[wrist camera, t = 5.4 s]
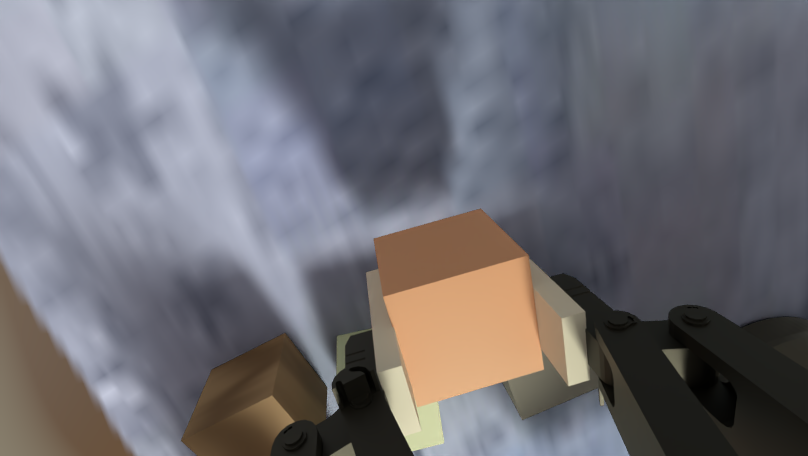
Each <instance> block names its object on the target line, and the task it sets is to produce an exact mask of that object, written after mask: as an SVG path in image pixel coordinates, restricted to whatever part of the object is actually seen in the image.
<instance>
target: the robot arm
mask: <svg viewBox="0 0 808 456" xmlns="http://www.w3.org/2000/svg"><path fill="white" fill-rule="evenodd" d="M529 262H530V269H531V277H532V284H533V291H534V299H535V307H536V315H537V323H538V331H539V338H540V346H541V350H542V351H543V352H544V354H545V355H546V356H547V358H548V359H549V360H550V362H551V363H552V365H553V366H554V367H555V369H556V370H557V371H558V373H559V374H560V375H561V377H562V378H563V379H564V381H565V382H566V384H567V385H568V386H571V385H575V384H578V383H581V382H585V381H588V380H590V368H589V366H590V367H591V368H592V370H593V371H594V372H595V373H596V374H597V375H598V387H599V401H600V406H604V400H605V402H606V404H607V406H608V409H609V411H610V413H611V415H612V417H613V420H614V422H615V424H616V426H617V429H618V431H619V433H620V435H621V437H622V440H623V442H624V444H625V446H626V448H627V451H628V453H629V455H630V456H808V320H806V319H802V318H797V317H777V318H771V319H766V320H762V321H758V322H755V323H752V324H750V325H747V326H745V327H742V328H741V327H739V326H737V325H736V324H734V323H733V322H731V321H729V320H728V319H726V318H725V317H723V316H722V315H720V314H718V313H717V312H715V311H713V310H711V309H708V308H705V307H701V306H697V305H682V306H677V307H675V308H673V309H671V311H670V312H669V317H668V320H663V321H640V320H639V319H638V318H637V317H636V316H635V315H632V314H630V313H628V312H624V311H619V310H618V311H613V310H612V309H611V308H610V307H609V306H608V305H606V304H605V303H604V302H603V301H602V300H601V299H599V298H598V297H597V296H596V295H595V294H593V293H592V292H590V290H589V289H588V288H586V287H585V286H583V284H582V283H580V282H579V281H578V280H577V279H576V278H574V277H571V276H569V275H566V274H564V273H562V274H559V275H555V276H552V277H549V276H548V275H546V274H545V273H544V272H543V271H542V270H541V269H540V268H539V267H538V266H537V265H536V264H535V263H534V262H533V261H532V260H531V259H530V258H529ZM366 278H367V287H368V297H369V306H370V315H371V324H372V330H369V331H365V332H362V333H358V334H355V335H352V336H350V337H349V339H348V341H347V343H346V345H345V368H344V369H343V370H341V371H340V372H339V373H338V374H337V375H336V376H335V378H334V380H333V382H332V391H333V393H334V396H335V398H336V401H337V403H338V406H339V409H338V410H337V411H336V412H335V413H334V414H333V415H332V416H330V417H329V418H327V419H326V420H324V421H322V422H321V423H319V424H317V425H315V424H314V423H313V422H312V421H308V420H300V421H296V422H294V423H291V424H289V425H288V426H286V427H285V428H284V429H283V430H281V431H280V433H279V434H278V435H277V437H276V438H275V440H274V442H273V445H272V449H271V454H270V456H414V455H413V453H412V451H411V449H410V447H409V445H408V443H407V441H406V439H405V437H404V436H407V435H410V434H413V433H417V432H420V431H422V430H421V426H420V421H419V417H418V412H417V408H416V403H415V399H414V394H413V389H412V385H411V382H410V379H409V375H408V372H407V369H406V365H405V362H404V359H403V355H402V352H401V349H400V346H399V342H398V339H397V336H396V332H395V329H394V327H392V324H391V321H390V318H389V315H388V312H387V308H386V305H385V302H384V299H383V294H382V288H381V282H380V276H379V269H376V270H372V271H369V272H366Z"/></svg>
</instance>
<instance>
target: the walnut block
mask: <svg viewBox="0 0 808 456" xmlns="http://www.w3.org/2000/svg"><path fill="white" fill-rule="evenodd" d="M326 406H327V387H326V385H325V384H324V383H323V382H322V380H321V379H320V378H319V376H318V375H317V374H316V372H315V371H314V370H313V369H312V367H311V366H310V365H309V363H308V362H307V361H306V359H305V358H304V357H303V356H302V354H301V353H300V352H299V350H298V349H297V348H296V346H295V345H294V344H293V343H292V341H291V340H290V339H289V337H288V336H287V335H286V333H284V334H282V335H280V336H278V337H276V338H274V339H272V340H270V341H268V342H266V343H264V344H262V345H260V346H258V347H256V348H254V349H252V350H250V351H248V352H246V353H244V354H242V355H240V356H238V357H236V358H234V359H232V360H230V361H228V362H226V363H224V364H222V365H220V366H218V367H216V368H214V369H212V370H211V373H210V375H209V377H208V379H207V382H206V384H205V386H204V389H203V391H202V393H201V396H200V398H199V400H198V403H197V405H196V407H195V410H194V412H193V414H192V417H191V419H190V421H189V423H188V426H187V428H186V430H185V433H184V435H183V437H182V440H181V441H182V442H183V443H184V444H185V445H186V446H187V447H188V448H190V449H191V450H192V451H193V452H194V453H195V454H196V455H197V456H270V454H271V449H272V445H273V442H274V440H275V438H276V437H277V435H278V434H279V433H280V431H281V430H283V429H284V428H285V427H286V426H288V425H289V424H291V423H294V422H296V421H300V420H308V421H312V422H313V423H314V424H315V425H317V424H319V423H321V422H322V421H324V420H326Z"/></svg>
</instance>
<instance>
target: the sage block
mask: <svg viewBox="0 0 808 456" xmlns="http://www.w3.org/2000/svg"><path fill="white" fill-rule="evenodd" d="M369 330H372V328H371V329H367V330H362V331H357V332H353V333H348V334H344V335H339V336H337V371H336V375H337V374H338V373H339V372H340V371H341V370H343V369H344V368H345V345H346V343H347V341H348V339H349V337H350V336H352V335H355V334H358V333H362V332H365V331H369ZM414 399H415V398H414ZM415 403H416V401H415ZM416 408H417V412H418V417H419V421H420V426H421V430H422V431H420V432H417V433H413V434H410V435H407V436H404V437H405V439H406V441H407V443H408V445H409V447H410V449H411V451H415V450H419V449H423V448H427V447H431V446H435V445H439V444H443V443H444V438H443V432H442V425H441V419H440V412H439V406H438V401H437V402H434V403H430V404H427V405H424V406H420V407H417V405H416Z"/></svg>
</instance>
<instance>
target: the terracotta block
mask: <svg viewBox="0 0 808 456" xmlns="http://www.w3.org/2000/svg"><path fill="white" fill-rule="evenodd" d="M374 244H375V251H376V257H377V263H378V269H379V276H380V282H381V288H382V294H383V299H384V302H385V305H386V308H387V312H388V315H389V318H390V321H391V324H392V327H394V329H395V332H396V336H397V339H398V342H399V346H400V349H401V352H402V355H403V359H404V362H405V365H406V369H407V372H408V375H409V379H410V382H411V385H412V389H413V394H414V398H415V401H416V405H417V407H420V406H424V405H427V404H430V403H434V402H437V401H440V400H444V399H447V398H450V397H454V396H457V395H461V394H464V393H467V392H471V391H474V390H477V389H481V388H484V387H487V386H491V385H494V384H497V383H501V382H504V381H507V380H511V379H514V378H517V377H521V376H524V375H528V374H531V373H534V372H538V371H541V370H544V366H543V359H542V351H541V346H540V338H539V331H538V323H537V315H536V307H535V299H534V291H533V284H532V277H531V269H530V262H529V255H528V254H527V253H526V252H525V251H524V250H523V249H522V248H521V247H520V246H519V245H518V244H517V243H516V242H515V241H514V240H513V239H512V238H511V237H509V236H508V235H507V234H506V233H505V232H504V231H503V230H502V229H501V228H500V227H499V226H498V225H497V224H496V223H495V222H494V221H493V220H492V219H491V218H490V217H489V216H488V215H487V214H486V213H485V212H484V211H483V210H482V209H477V210H474V211H470V212H467V213H463V214H460V215H456V216H453V217H449V218H445V219H442V220H438V221H435V222H431V223H428V224H424V225H421V226H417V227H413V228H410V229H406V230H403V231H399V232H396V233H392V234H388V235H385V236H381V237H378V238H374Z"/></svg>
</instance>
